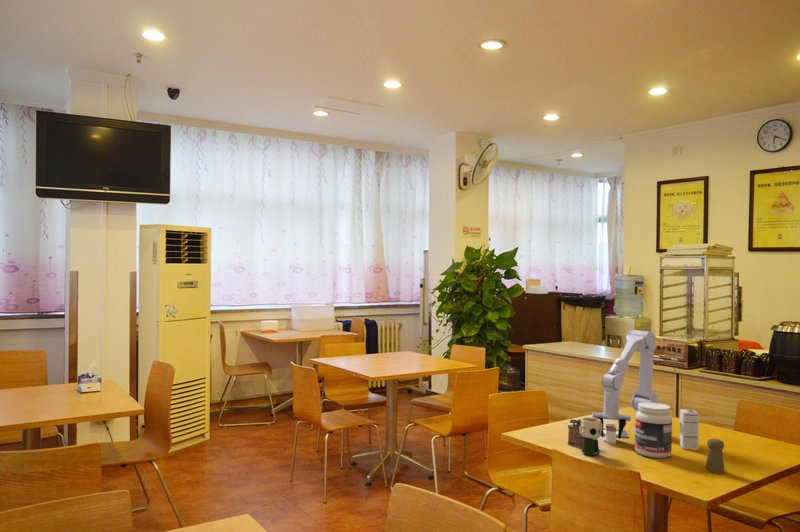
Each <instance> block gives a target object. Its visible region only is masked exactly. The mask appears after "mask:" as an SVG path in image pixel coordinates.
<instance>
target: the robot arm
mask: <svg viewBox="0 0 800 532" xmlns="http://www.w3.org/2000/svg"><path fill="white" fill-rule="evenodd" d="M625 337H626V338H625V339H626V344H625V346H624V348H623V351H622V353H621V355H620V357H619V358H616V359H615V360H614V362H613V364H612V365H611V366H610V369H609V370H608V372H607V373H605V374H603V376H602V377H601V381H600V384H601V386H602V390H603V392H604V393H603V395H604V396H603V412H592V416H591V417H592V418H597V419H600V420H601V423H602V431H601V436H600V437H601V438H604V437H605V436H604V435H603V428H604V420H614V421H618V430H619V431H618V437H617V439H619V440H620V439H621V434H622V431H623V430H625V429H624V428H625V427H626V424H627V422H631V421H632V420H631V419H632V418H631V415H627V414H621V413H620V411H619V410H620V389H621V388H622V387H623V383H624V376H625V375H626V373H627V371H628V369H629V368H630V366H629V361H630V360H631V359H632V357H633V356H634V354H635V353H636V352H637V350H638V351H639V353H640V354H639V355H640V356H639V371H638V372H639V373H638V387H637V388H638V389H636V390H634V391H633V393H632V398H631V401H630V403H631V407H632V409H633V412H635V414H636V413H637V412H638V411H639V409H638V404H639V403H641V402H654V403H659V396H658V395H659V394H657V393H656V392H654V390H653V374H654V373H653V371H654V354H655V353H654V352H655V350H656V344H657V343H656V340H657V339H656V338H657V337H656V335H655V334H654V332H653V331H650V330H649V331H646V330H640V329H639V330H636V329H630V330H629V331H628V333H627V335H626V336H625ZM635 423H636V420H635ZM633 432H634V433H635V428H633Z"/></svg>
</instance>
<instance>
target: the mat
mask: <svg viewBox="0 0 800 532" xmlns="http://www.w3.org/2000/svg"><path fill="white" fill-rule="evenodd" d="M618 431H619V429H616V438H618ZM603 435H604V436H603V437H606V428H604V427H603ZM621 438H622V439H629V434H628V433H627V430H626V429H623V431H622V434H621Z"/></svg>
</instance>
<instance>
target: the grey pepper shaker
mask: <svg viewBox="0 0 800 532" xmlns="http://www.w3.org/2000/svg"><path fill="white" fill-rule="evenodd" d="M706 444H707V447H708V453H707V457H706V464H705V469H706V470H707V471H706V470H705V471H706V472H708V471H709V472H708V473H710V472H711V473H710V474H714V473H717V474H716V475H724V474H725V473H726V470H725V462H724V453H723V450H724V448H725V443H724V442H723V440H721V439H719V438H709V439H707V442H706Z"/></svg>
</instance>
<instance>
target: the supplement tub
mask: <svg viewBox="0 0 800 532" xmlns="http://www.w3.org/2000/svg"><path fill="white" fill-rule="evenodd" d="M638 409H639V411H638V412H637V413H636V412H635V421H636V423H635V428H634V429H635V432H634V450H635V451H636V452H637V454H639V455H642V456H644V457H647V458H653V459H664V458H668V457H670V456H671V454H672V443H673V442H672V439H673V438H672V437H673V418H672V417H673V416H672V415H671V414H670V413H671V412H672V410H671V406H670V405H668V404H665V403H662V402H658V403H654V402H641V403H639V404H638Z"/></svg>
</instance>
